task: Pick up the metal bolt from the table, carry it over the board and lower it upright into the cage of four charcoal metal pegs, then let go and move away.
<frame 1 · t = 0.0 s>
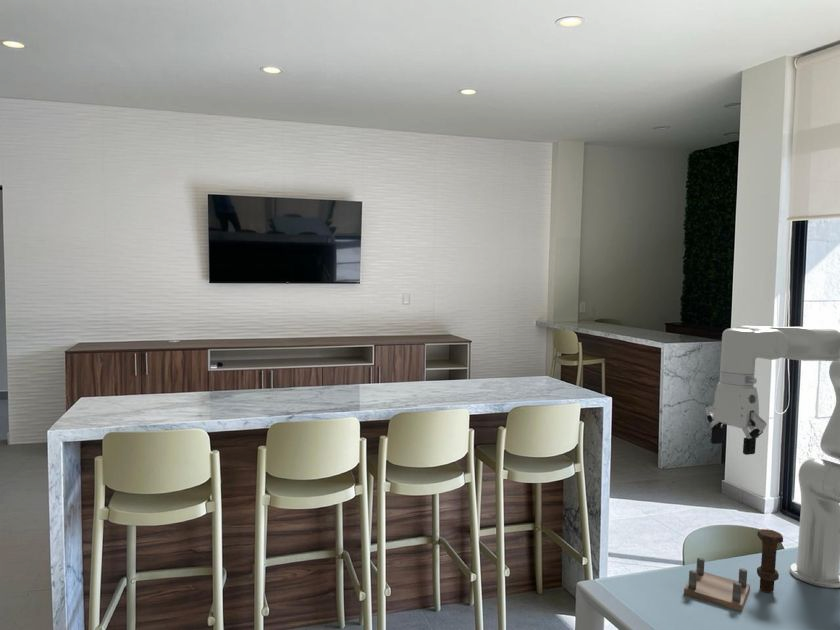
hand: (732, 448, 156), 37 cm above the table, tool pointing down, fingers open, 9 cm apart
peg holder: (717, 592, 160), on the table
bolt: (766, 591, 161), on the table
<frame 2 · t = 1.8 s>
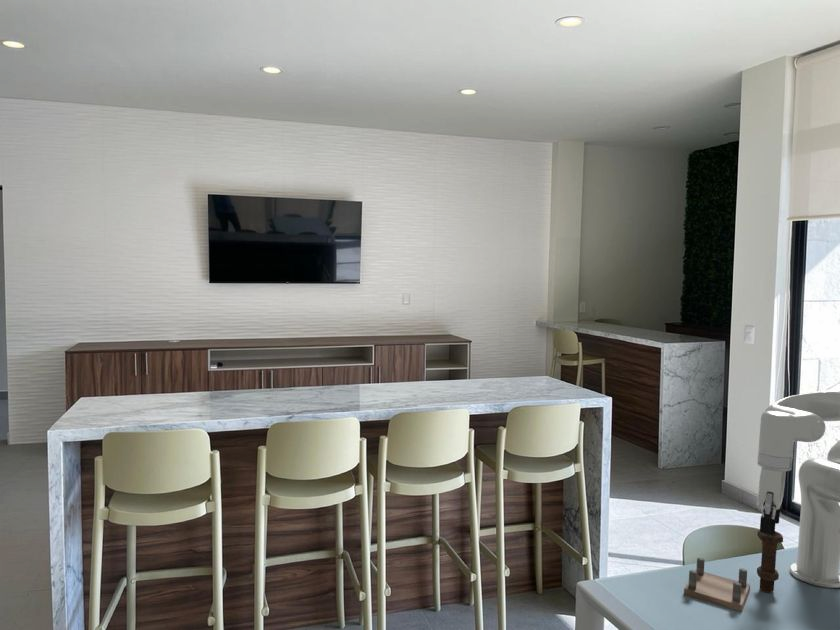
hand: (769, 527, 160), 16 cm above the table, tool pointing down, fingers open, 9 cm apart
nothing on the table moved.
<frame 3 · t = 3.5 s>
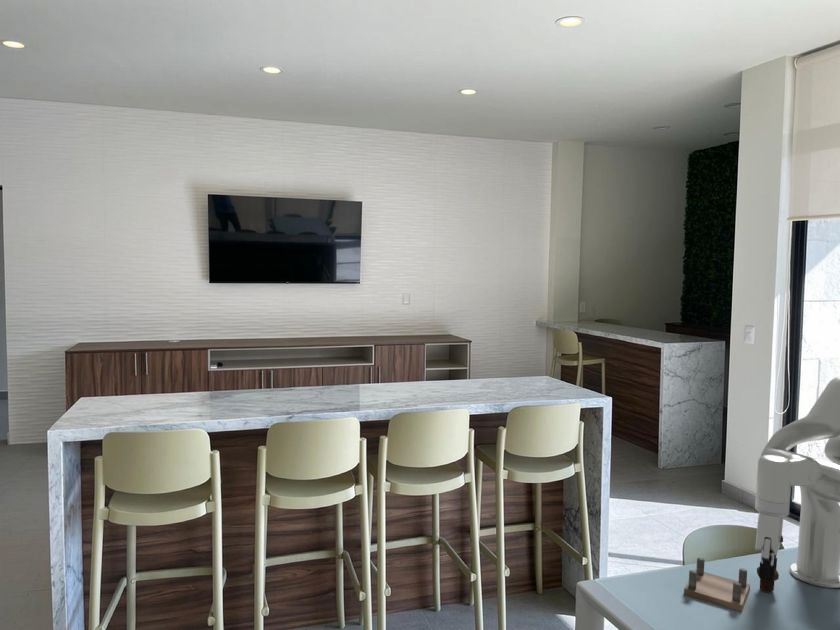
hand: (767, 574, 161), 4 cm above the table, tool pointing down, fingers closed on bolt, 4 cm apart
bolt: (766, 591, 161), on the table, touching gripper
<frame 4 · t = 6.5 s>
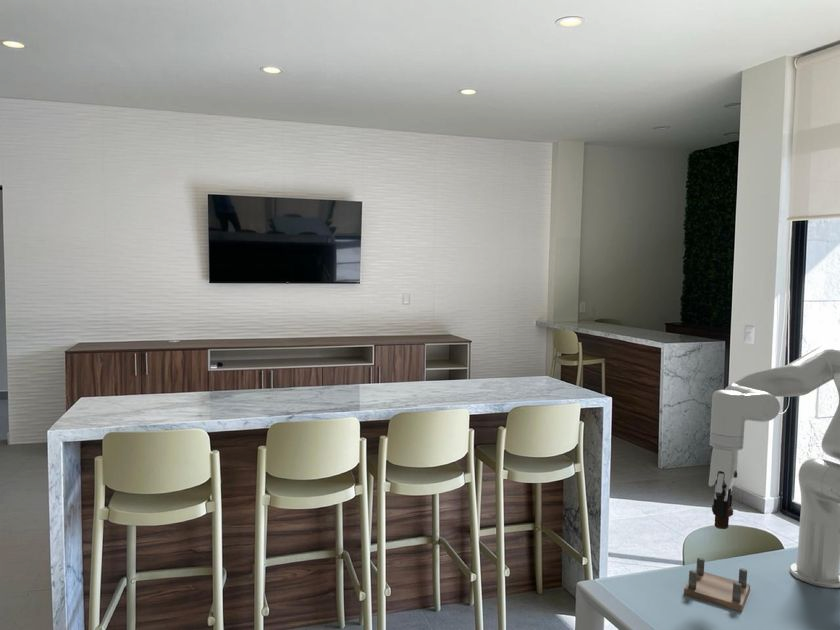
hand: (722, 511, 158), 21 cm above the table, tool pointing down, fingers closed on bolt, 4 cm apart
bolt: (721, 528, 159), point 16 cm above the table, touching gripper
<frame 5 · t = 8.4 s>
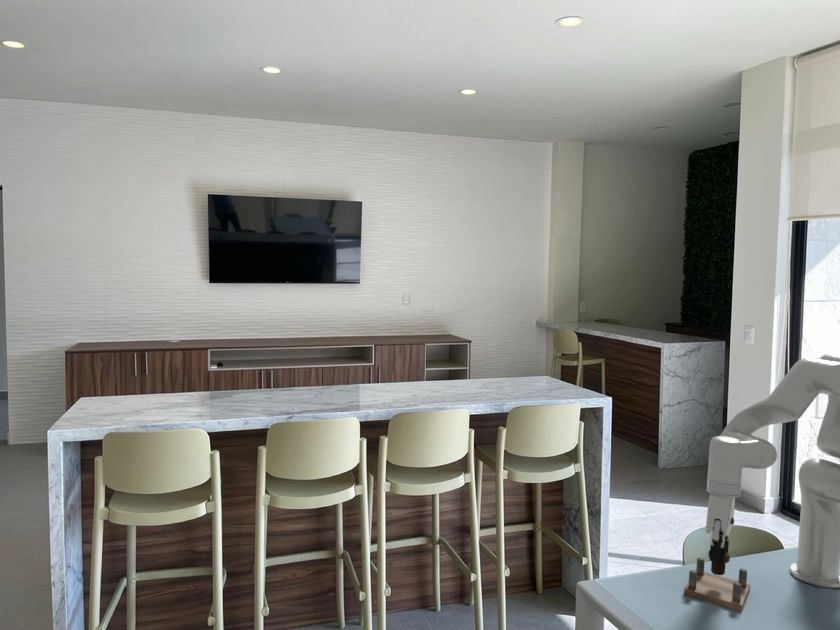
hand: (718, 557, 159), 9 cm above the table, tool pointing down, fingers closed on bolt, 4 cm apart
bolt: (717, 574, 159), point 5 cm above the table, touching gripper
when the fingers open (6 cm above the table, at t = 9.8 s): bolt stays where it is, resting on peg holder.
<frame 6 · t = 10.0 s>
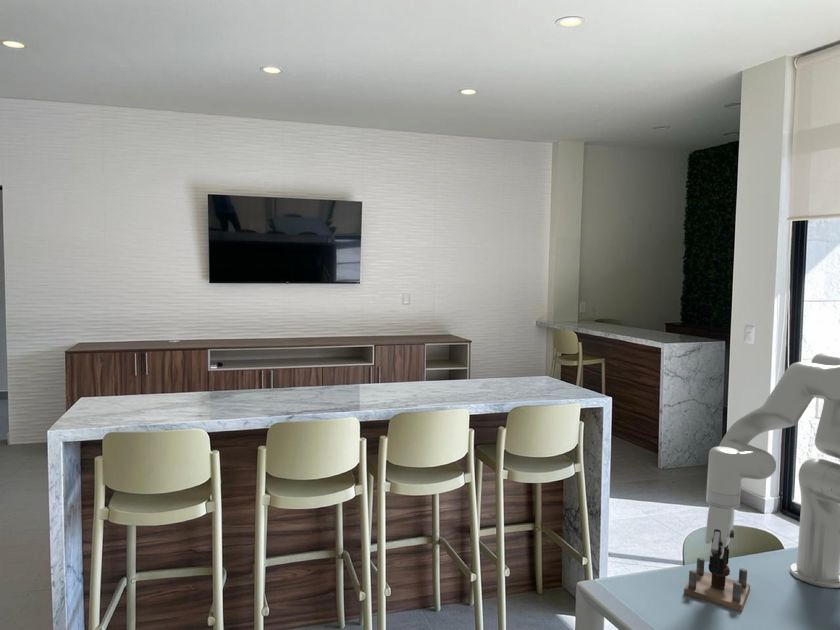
hand: (718, 567, 159), 7 cm above the table, tool pointing down, fingers open, 6 cm apart
bolt: (717, 587, 160), point 1 cm above the table, touching peg holder
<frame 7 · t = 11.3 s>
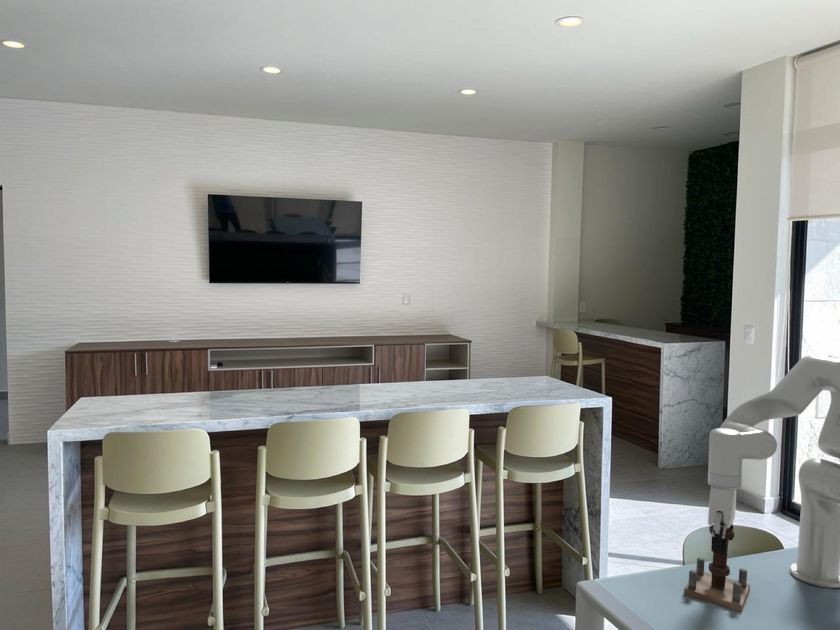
hand: (722, 545, 159), 12 cm above the table, tool pointing down, fingers open, 9 cm apart
nothing on the table moved.
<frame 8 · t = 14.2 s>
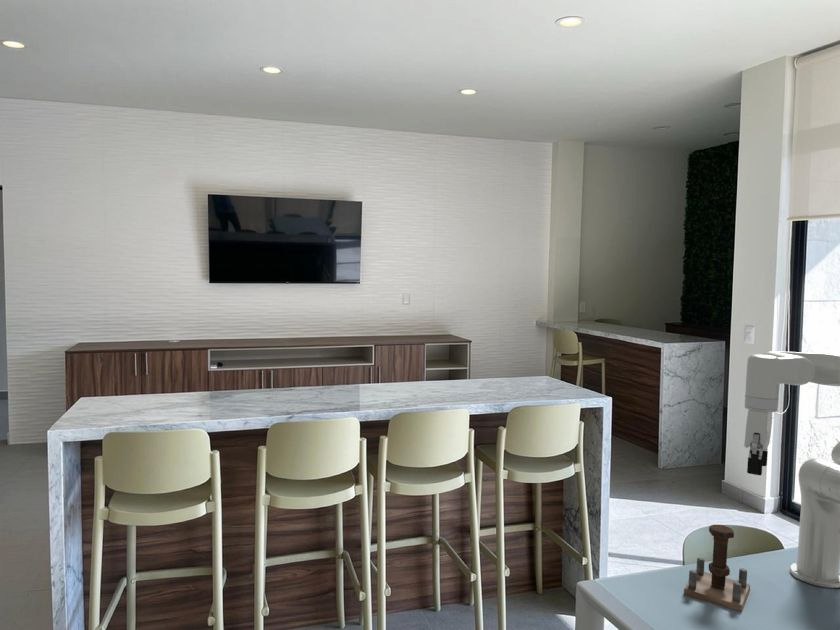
hand: (757, 469, 162), 30 cm above the table, tool pointing down, fingers open, 9 cm apart
nothing on the table moved.
at the end: bolt 0.1 cm off-centre on the peg holder, point 1.3 cm above the peg holder's base; bolt tilted 0°; the gripper is holding nothing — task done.
